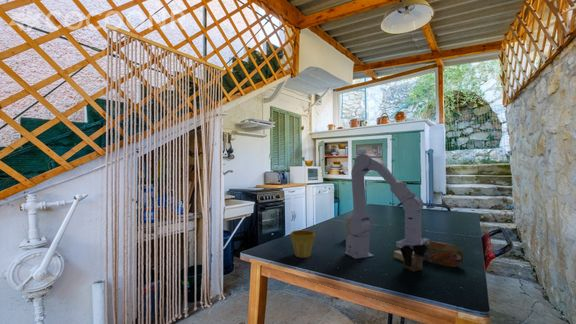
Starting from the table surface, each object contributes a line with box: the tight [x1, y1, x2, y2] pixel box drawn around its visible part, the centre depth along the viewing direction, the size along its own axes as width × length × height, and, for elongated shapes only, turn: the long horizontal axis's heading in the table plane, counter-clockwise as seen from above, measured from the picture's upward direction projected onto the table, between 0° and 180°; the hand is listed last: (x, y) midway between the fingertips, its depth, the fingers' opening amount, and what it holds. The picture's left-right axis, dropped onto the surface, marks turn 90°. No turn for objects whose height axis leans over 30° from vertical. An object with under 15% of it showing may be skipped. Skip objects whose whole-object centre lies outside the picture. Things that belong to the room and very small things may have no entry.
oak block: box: [393, 249, 414, 262], centre depth 113 cm, size 7×7×3 cm
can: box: [344, 216, 352, 240], centre depth 140 cm, size 8×8×12 cm
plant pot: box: [290, 229, 316, 259], centre depth 116 cm, size 10×10×10 cm
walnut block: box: [403, 253, 423, 272], centre depth 102 cm, size 4×4×5 cm
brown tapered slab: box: [423, 240, 465, 268], centre depth 108 cm, size 15×3×8 cm, turn 48°
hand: (412, 264), depth 102 cm, fingers closed on walnut block, 4 cm apart
